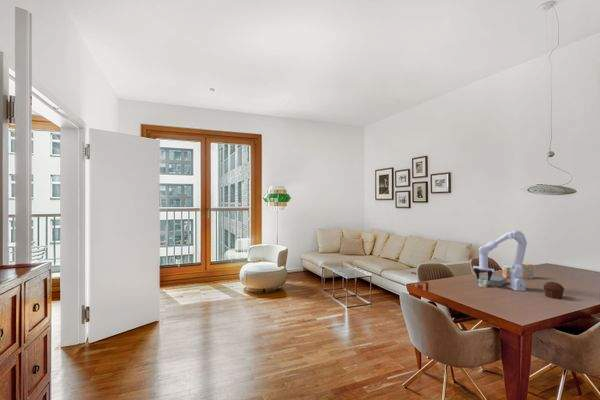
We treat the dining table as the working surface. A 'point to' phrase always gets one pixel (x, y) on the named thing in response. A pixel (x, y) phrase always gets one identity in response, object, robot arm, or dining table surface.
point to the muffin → (553, 290)
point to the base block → (494, 280)
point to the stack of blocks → (526, 271)
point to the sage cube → (483, 282)
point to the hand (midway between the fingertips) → (483, 279)
